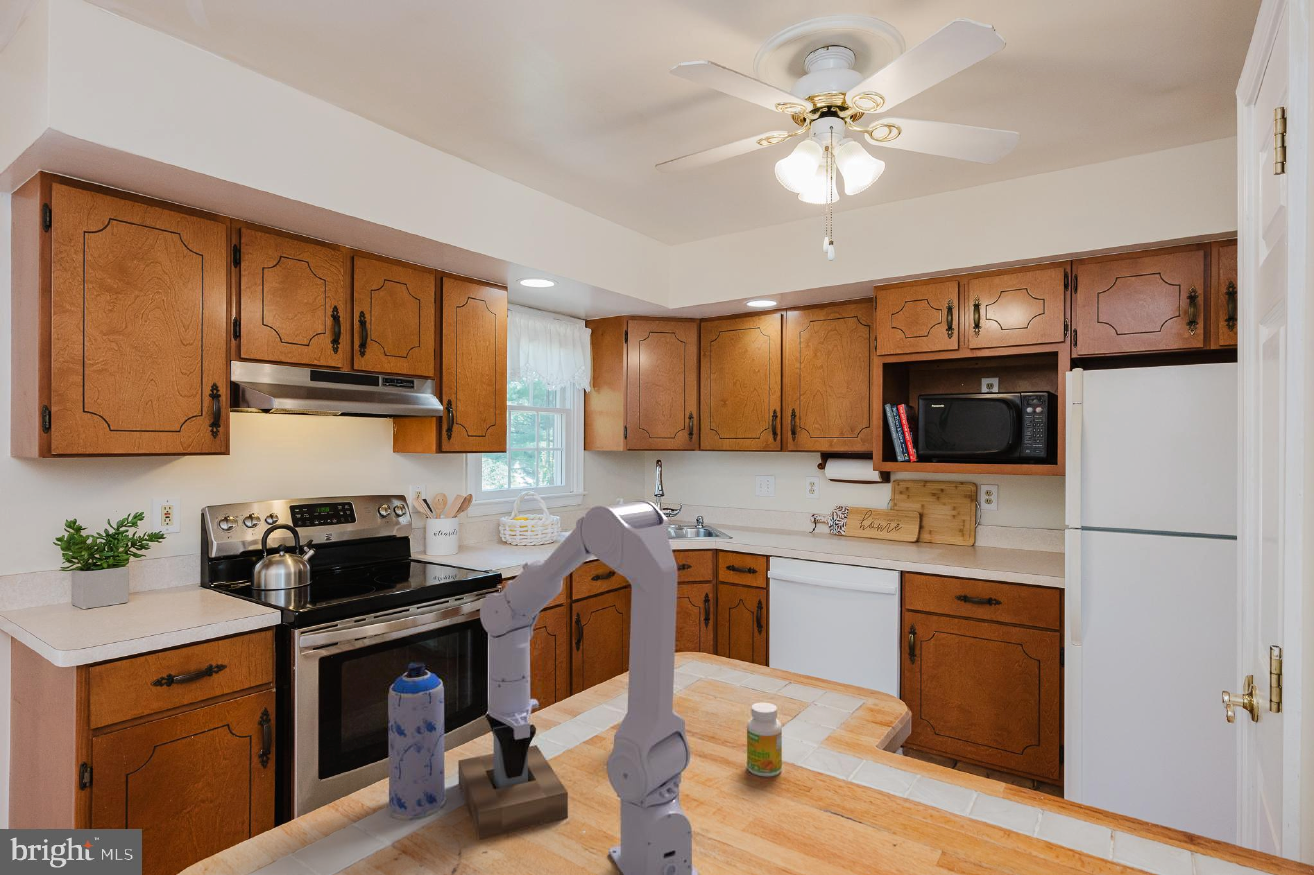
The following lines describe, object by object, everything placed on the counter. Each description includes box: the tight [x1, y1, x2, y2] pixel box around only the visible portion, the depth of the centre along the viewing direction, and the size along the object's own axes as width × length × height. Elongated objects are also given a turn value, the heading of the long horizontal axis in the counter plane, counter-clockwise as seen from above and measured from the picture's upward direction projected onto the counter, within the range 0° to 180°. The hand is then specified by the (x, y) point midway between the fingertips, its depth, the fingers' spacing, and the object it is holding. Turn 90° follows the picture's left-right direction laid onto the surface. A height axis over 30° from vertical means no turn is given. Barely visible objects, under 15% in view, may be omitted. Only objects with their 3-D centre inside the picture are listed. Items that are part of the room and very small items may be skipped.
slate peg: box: [492, 725, 528, 789], centre depth 101 cm, size 4×4×8 cm
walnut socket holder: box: [457, 744, 569, 840], centre depth 101 cm, size 16×12×4 cm
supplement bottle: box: [746, 702, 783, 777], centre depth 110 cm, size 5×5×10 cm
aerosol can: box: [387, 661, 447, 821], centre depth 100 cm, size 8×8×20 cm
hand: (510, 769), depth 101 cm, fingers closed on slate peg, 4 cm apart
